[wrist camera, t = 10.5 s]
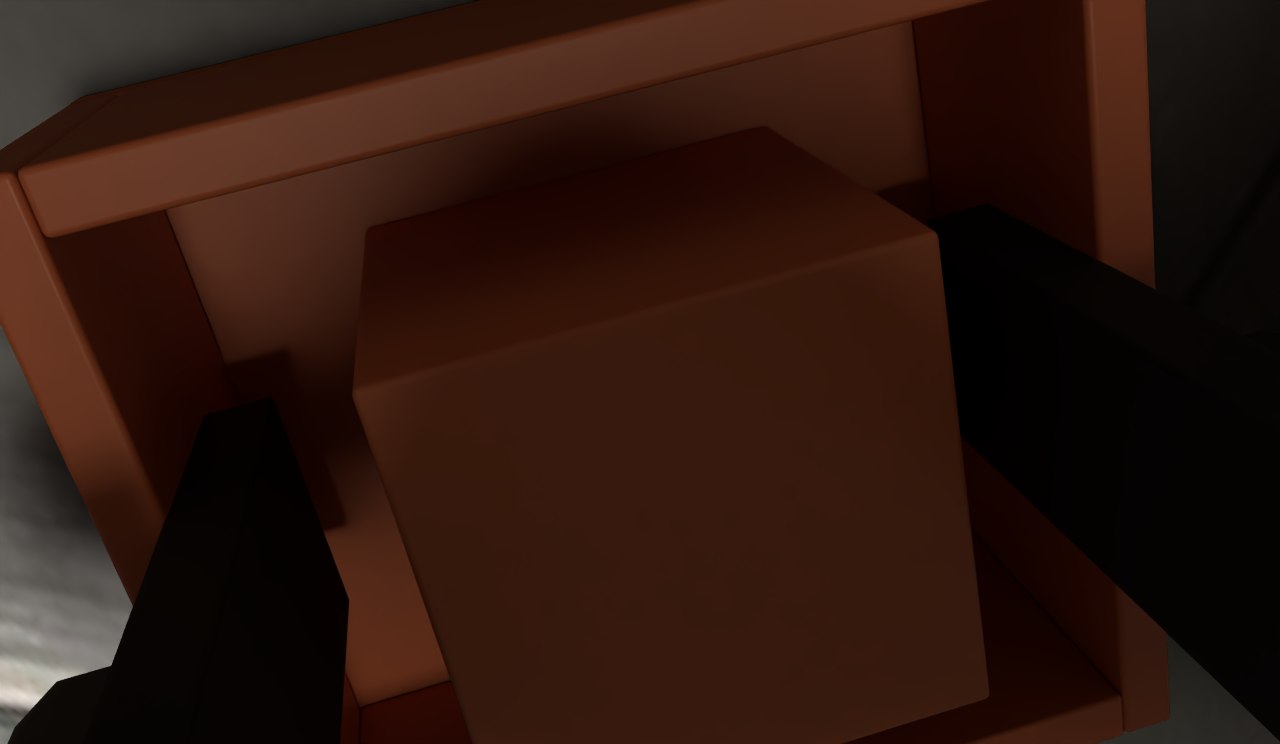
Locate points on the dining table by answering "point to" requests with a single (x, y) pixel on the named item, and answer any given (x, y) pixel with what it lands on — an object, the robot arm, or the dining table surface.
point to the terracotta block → (677, 452)
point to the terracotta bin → (523, 157)
